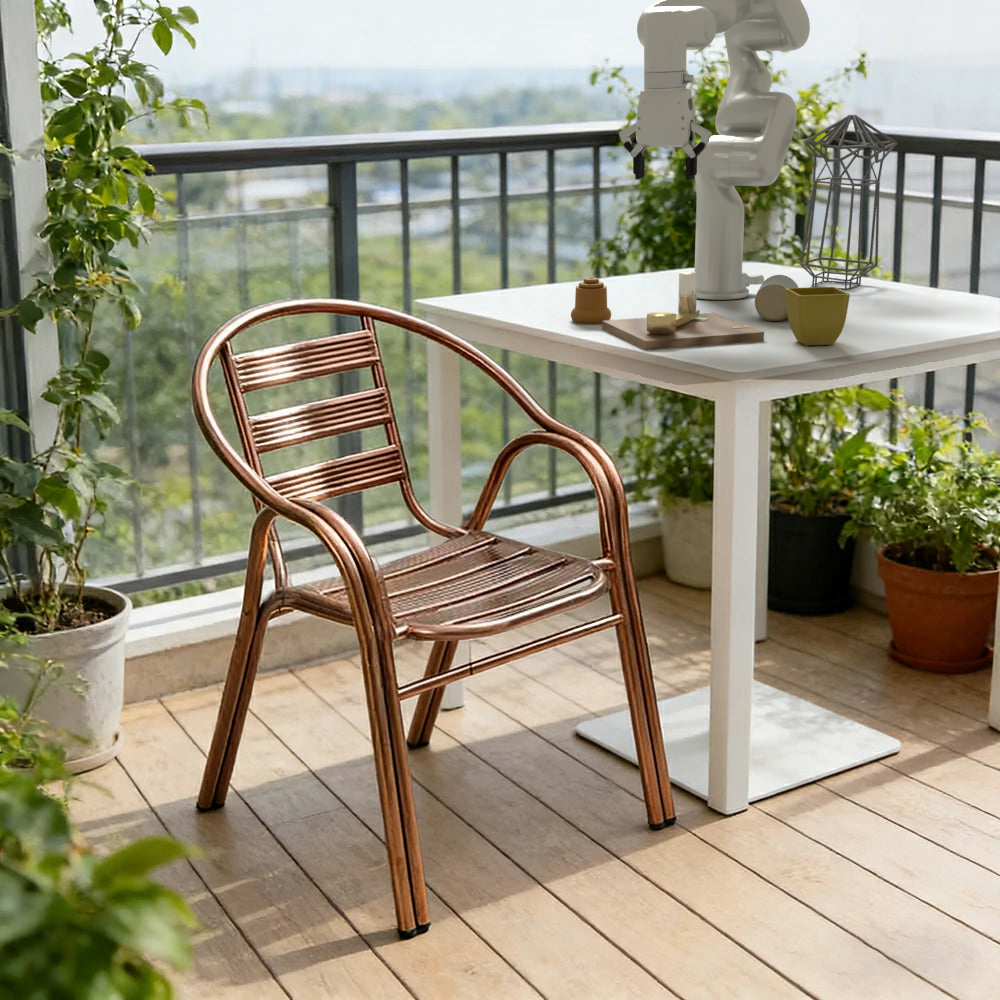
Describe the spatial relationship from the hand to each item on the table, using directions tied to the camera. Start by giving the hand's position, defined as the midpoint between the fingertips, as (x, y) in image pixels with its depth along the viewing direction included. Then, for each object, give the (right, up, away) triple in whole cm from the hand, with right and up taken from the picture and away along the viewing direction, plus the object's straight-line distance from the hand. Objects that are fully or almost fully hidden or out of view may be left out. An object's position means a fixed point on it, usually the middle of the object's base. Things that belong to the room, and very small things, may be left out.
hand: (664, 179), depth 259 cm
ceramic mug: (+22, -25, +4) cm, 34 cm away
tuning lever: (+1, -28, -11) cm, 30 cm away
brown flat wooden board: (+2, -30, -10) cm, 31 cm away
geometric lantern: (+41, -14, +38) cm, 58 cm away
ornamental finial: (-13, -26, +4) cm, 29 cm away
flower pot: (+23, -32, -18) cm, 44 cm away
